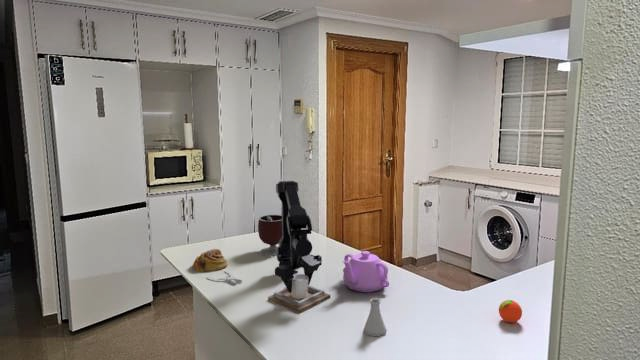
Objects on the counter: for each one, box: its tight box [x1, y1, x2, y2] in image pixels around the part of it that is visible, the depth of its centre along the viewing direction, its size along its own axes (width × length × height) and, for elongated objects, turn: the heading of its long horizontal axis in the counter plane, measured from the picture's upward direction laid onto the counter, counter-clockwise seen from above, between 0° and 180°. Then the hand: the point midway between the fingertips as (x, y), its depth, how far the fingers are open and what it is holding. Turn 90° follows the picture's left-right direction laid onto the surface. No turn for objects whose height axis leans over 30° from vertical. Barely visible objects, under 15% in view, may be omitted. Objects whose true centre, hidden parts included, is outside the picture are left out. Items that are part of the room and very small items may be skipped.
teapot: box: [342, 250, 390, 293], centre depth 166 cm, size 22×22×14 cm
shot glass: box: [291, 273, 309, 299], centre depth 157 cm, size 7×7×7 cm
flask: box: [363, 298, 387, 337], centre depth 133 cm, size 7×7×10 cm
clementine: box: [498, 299, 523, 324], centre depth 138 cm, size 8×7×7 cm
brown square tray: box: [267, 284, 331, 314], centre depth 157 cm, size 16×16×3 cm
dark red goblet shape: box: [257, 214, 282, 257], centre depth 208 cm, size 16×14×20 cm
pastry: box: [192, 248, 228, 273], centre depth 191 cm, size 13×15×8 cm
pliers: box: [206, 270, 243, 286], centre depth 176 cm, size 10×2×15 cm
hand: (299, 288), depth 157 cm, fingers open, 9 cm apart
